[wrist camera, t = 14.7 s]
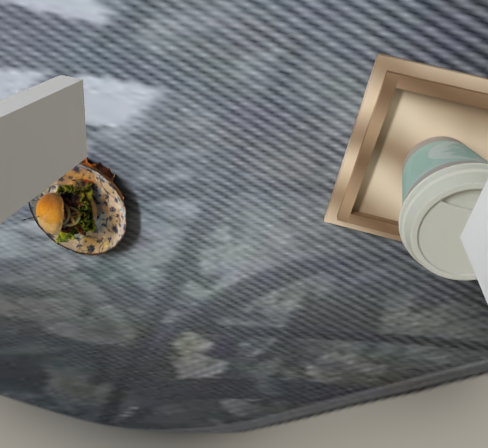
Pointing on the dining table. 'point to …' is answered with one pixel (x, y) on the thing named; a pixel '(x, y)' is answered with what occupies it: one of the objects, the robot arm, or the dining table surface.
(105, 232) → the burger
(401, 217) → the coffee cup
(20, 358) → the dining table surface
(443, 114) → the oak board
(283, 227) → the dining table surface
